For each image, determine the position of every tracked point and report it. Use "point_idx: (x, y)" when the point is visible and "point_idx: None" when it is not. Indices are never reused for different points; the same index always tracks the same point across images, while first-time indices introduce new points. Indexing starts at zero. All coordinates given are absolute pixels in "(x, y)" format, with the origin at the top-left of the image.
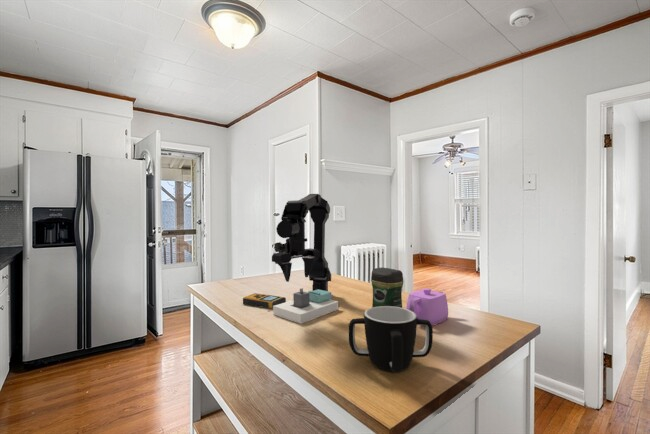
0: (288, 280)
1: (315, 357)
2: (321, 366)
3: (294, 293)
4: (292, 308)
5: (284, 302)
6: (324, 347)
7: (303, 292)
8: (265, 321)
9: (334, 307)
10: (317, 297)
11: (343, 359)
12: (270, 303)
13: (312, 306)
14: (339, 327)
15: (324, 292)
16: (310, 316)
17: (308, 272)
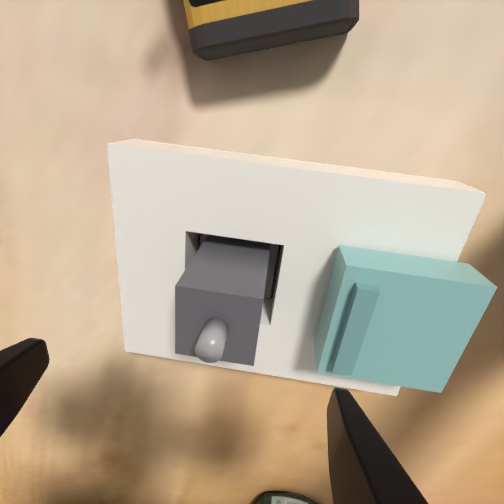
0: (28, 378)
1: (29, 447)
2: (17, 466)
3: (178, 293)
4: (157, 274)
5: (331, 33)
6: (77, 444)
7: (240, 329)
8: (47, 182)
9: None
10: (319, 353)
11: (70, 484)
12: (185, 9)
13: None
14: (207, 429)
15: (417, 362)
16: None
17: (333, 491)
